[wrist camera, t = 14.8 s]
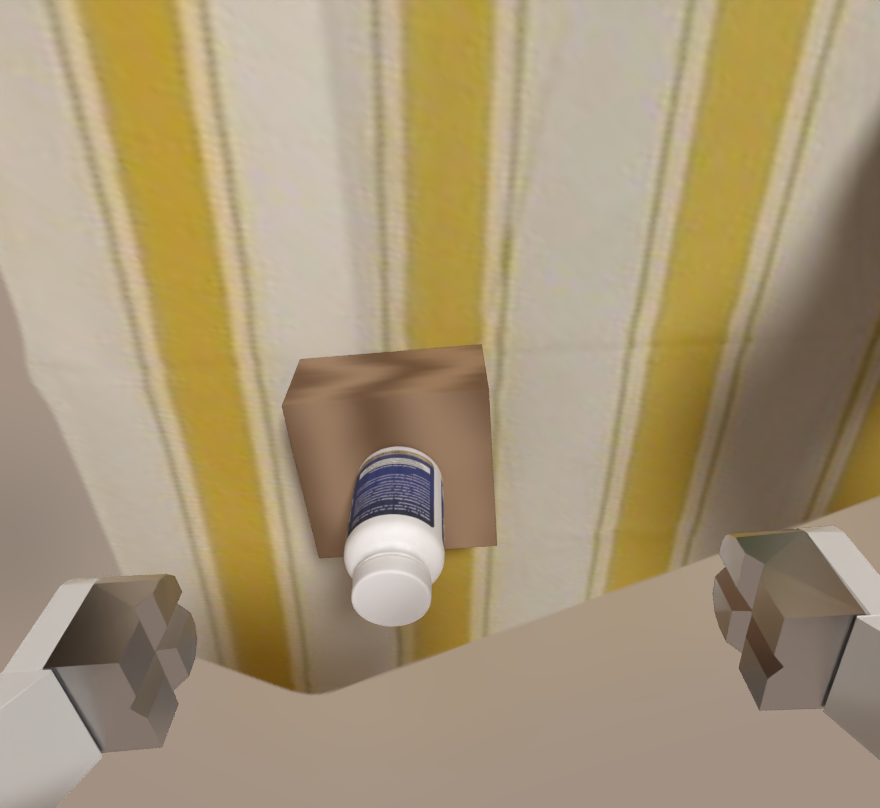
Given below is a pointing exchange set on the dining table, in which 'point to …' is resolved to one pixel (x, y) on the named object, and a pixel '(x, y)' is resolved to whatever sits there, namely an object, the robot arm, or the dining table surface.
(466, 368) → the walnut riser
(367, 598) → the pill bottle
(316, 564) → the dining table surface
